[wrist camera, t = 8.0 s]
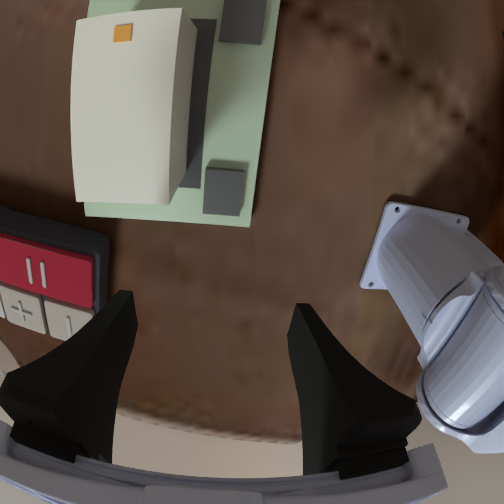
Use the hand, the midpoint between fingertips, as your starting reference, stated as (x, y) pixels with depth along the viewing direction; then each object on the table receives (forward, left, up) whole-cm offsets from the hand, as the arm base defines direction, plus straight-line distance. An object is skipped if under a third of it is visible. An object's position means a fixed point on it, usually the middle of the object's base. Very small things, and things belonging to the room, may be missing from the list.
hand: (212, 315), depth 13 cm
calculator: (+17, +6, -10) cm, 21 cm away
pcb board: (+4, -8, -10) cm, 13 cm away
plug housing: (+5, -8, -9) cm, 13 cm away
